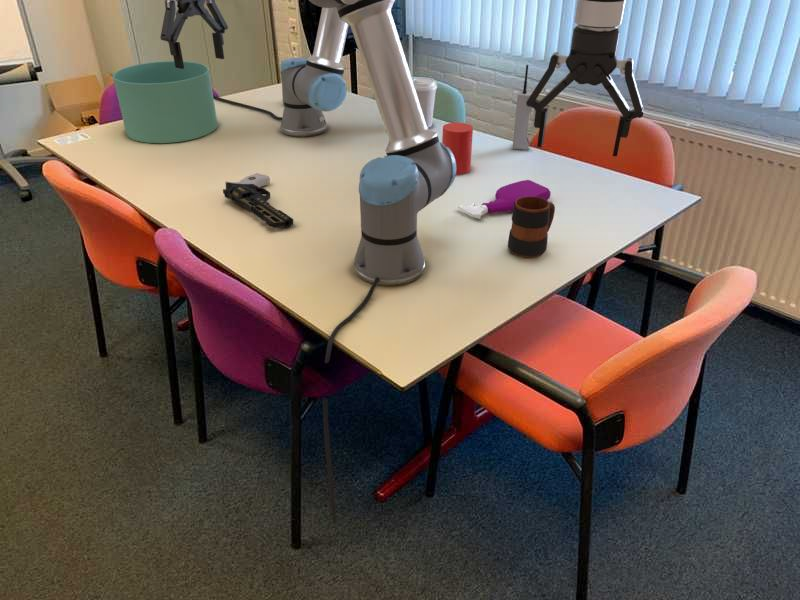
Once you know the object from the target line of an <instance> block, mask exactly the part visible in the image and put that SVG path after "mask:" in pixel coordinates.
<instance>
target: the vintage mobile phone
mask: <svg viewBox="0 0 800 600" xmlns="http://www.w3.org/2000/svg"><path fill="white" fill-rule="evenodd" d="M528 74H529V64H526V65H525V74H524V81H523V90H522V91H518V92H517V98H516V99H517V100H516V109H515V119H514V126H513V138H512V149H513V150H523V151H525V150H526V151H528V150H529V149H530V140H529V137H528V129H529V121H530V115H531V113H532V112H533V111H532V110H533V108H532V107H529V106H527V105H526V102H527V100H528V99H529V97H530V96H531V94H532V92H533V91H527V89H528V88H527V86H528Z"/></svg>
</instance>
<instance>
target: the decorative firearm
mask: <svg viewBox="0 0 800 600" xmlns="http://www.w3.org/2000/svg"><path fill="white" fill-rule="evenodd" d="M270 178H271V177H270V176H269V175H267V174H263V173H258V172H256V173H253V174H250V175H247V176H245V177H244V178H242V179H241V180H238V181H234V182H233V181H227V180H226V181H225V188H223V189H222V193H223V195H224V197H225V198H226V199H228V200H231V201H232V202H234V203H236V204H237V205H239V207H243V208H245V209H247V211H249V212H250V213H252V214H253V215H255V216H256V217H258V218H259V219H260V220H262V221H263V222H265V224H266V225H267V227H269V228H273V229H276V228H284V229H286V228H290V227H291V226H293V225H294V218H292V217H291V216H290V215H288V214H287V213H285V212H283V210H281V209H277V208H275V207H274V206H272V205H270V202H268V201H269V200H270V199H271V192H270V191H269V190H267V189H266V188H263V187H264V186H267V185H270V183H271V179H270Z"/></svg>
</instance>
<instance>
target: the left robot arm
mask: <svg viewBox="0 0 800 600" xmlns="http://www.w3.org/2000/svg"><path fill="white" fill-rule="evenodd" d="M205 4H206V6H207V8H206V6H205ZM164 6H165V9H164V16H163V21H162V26H161V31H160V37H159V38H160V40H161V41H163V42H167V43H168V47H169V53H170V56H172V57H173V61H174V62H175V68H180V69H184V64H183V61H184V59H183V54H182V48H181V43H180V41H178V39H179V37H180V34H181V33H182V29H183V28H184V25H185V22H186V20H187V19H189V17H190V18H191V17H194V16H200V17H201V18H202V20H204V21H205V23H206V24H207V25H208V27H210V28H211V30H212V31H213V32H212V33H211V35H212V43H213V49H214V56H215V59H219V60H224V59H225V54H224V53H225V52H224V45H225V42H224V34H225V33H226V30H228V29H229V26H228V24H227V22H226V20H225V18H224V16H223V14H222V13H221V11H220V9H219V6H218V5H217V3H216V0H164ZM176 9H177V10H176ZM349 27H350V25H349V24H347V23H345V22H343V21H341V20H340V17H339V14H338V11H337V9H336V7H334V8H323V7H321V13H320V17H319V23H318V27H317V32H316V38H315V42H314V47H313V52H312V54H311V55H310V56H299V57H298V56H297V57H289V58H285V59H286V60H285V59H282V60H283V61H282V60H281V61H282V62H281V61H280V64H279V65H280V70H279V71H280V72H279V73H280V78H281V79H280V80H281V90H283V96H282V100H283V99H284V105H283V113H282V116H278V115H275V114H274V113H273V112H271V111H270V110H267V109H264V108H260V107H257V106H252V105H250V104H249V105H248V104H246V103H241V102H237V101H234V100H231V99H227V98H222V97H219V96H216V95H213V99H214V100H217V101H221V102H224V103H228V104H232V105H235V106H240V107H242V108H243V107H244V108H247V109H251V110H254V111H258V112H262V113H265V114H267V115H270V116H271V117H272V118H273V119H275V120H276V121H277V120H278V121H281V122H280V132H281V133H282V134H284V135H286V136H289V137H299V138H301V137H303V138H304V137H312V136H318V135H320V134H324V133H325V132H326V131H327V129H328V128H327V126H328V125H327V120H326V118H325V114H323V113H324V112H332V111H335V110H336V109H337V108H339V107H340V106H341V105H342V104H343V102H344V101H345V99H346V97H347V91H348V90H347V88H348V87H347V84H346V82H345V79H343V78H344V73H345V67H344V65H343V64H342V58H343V53H344V50H345V45H346V41H347V40H346V39H347V35H348V32H349V31H348V30H349Z"/></svg>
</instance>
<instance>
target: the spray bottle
mask: <svg viewBox="0 0 800 600" xmlns="http://www.w3.org/2000/svg"><path fill="white" fill-rule="evenodd" d="M550 190H551V189H549V188H548V187H546V186H543V185H542V184H540V183H537V182H535V181H532V180H530V179H525V180H520V181H519V180H518V181H516V182H511V183H508V184H506V185H503V186H501V187H499V188H498V189H497V190H496V192H495V199H494V200H491V201H489V202H483V203H481V204H480V205H476V202H475V201H474V202H472V203H471V204H470V205H461V204H458V206H457V209H459V210H460V211H461V212H463V213H465V214H466V215H469V216H470V217H472V218H476V219H477V220H481V218H482V216H483V215H485V214H495V213H505V212H511V213H513V207H514V202H515V201H516V200H517V199H518V198H521V197H526V196H534V197H540V198H543V199H545V200H547V201H548V200H550V197H551V195H552V193H551V191H550Z"/></svg>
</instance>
